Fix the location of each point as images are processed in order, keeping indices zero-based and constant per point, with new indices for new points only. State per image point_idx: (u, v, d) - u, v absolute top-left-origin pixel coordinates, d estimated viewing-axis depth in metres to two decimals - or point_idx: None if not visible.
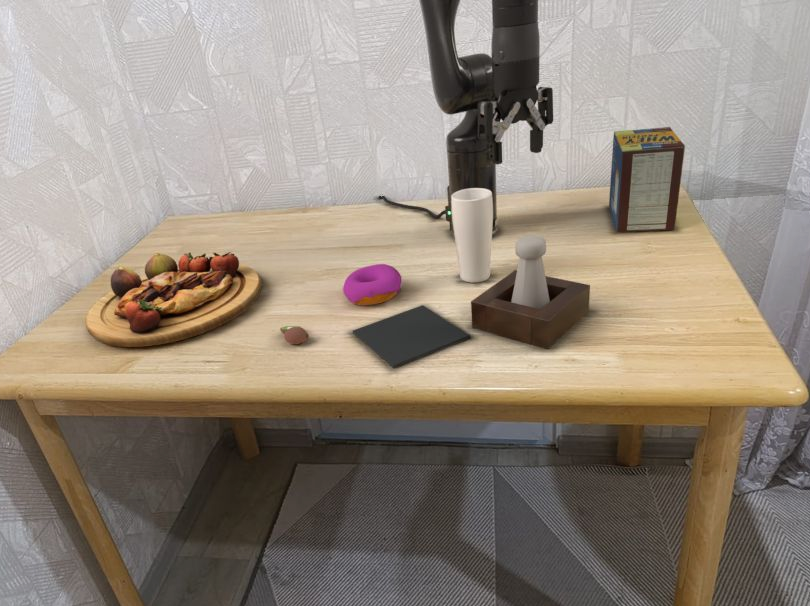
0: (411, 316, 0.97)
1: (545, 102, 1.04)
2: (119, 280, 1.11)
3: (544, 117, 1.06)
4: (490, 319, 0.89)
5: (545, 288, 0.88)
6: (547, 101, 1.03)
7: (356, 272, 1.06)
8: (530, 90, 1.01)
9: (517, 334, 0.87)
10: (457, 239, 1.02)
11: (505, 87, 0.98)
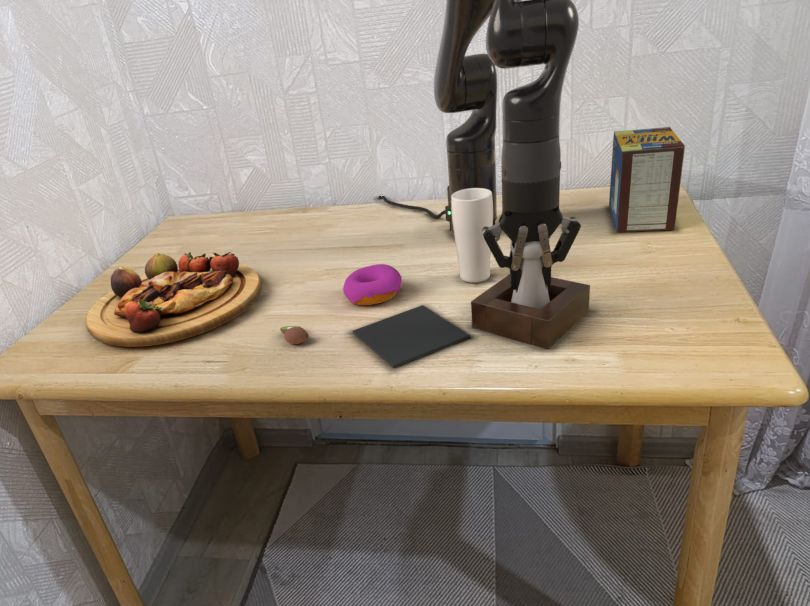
0: (411, 316, 0.97)
1: (566, 235, 0.84)
2: (119, 280, 1.11)
3: (558, 251, 0.86)
4: (490, 319, 0.89)
5: (545, 288, 0.88)
6: (567, 235, 0.84)
7: (356, 272, 1.06)
8: (548, 213, 0.82)
9: (517, 334, 0.87)
10: (457, 239, 1.02)
11: (507, 208, 0.82)
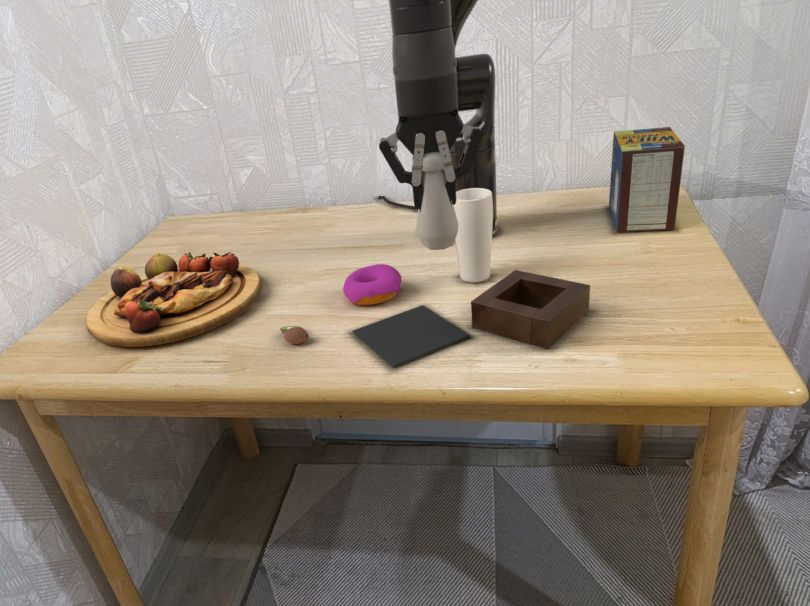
0: (411, 316, 0.97)
1: (468, 145, 0.78)
2: (119, 280, 1.11)
3: (461, 164, 0.80)
4: (490, 319, 0.89)
5: (449, 206, 0.81)
6: (469, 144, 0.77)
7: (356, 272, 1.06)
8: (446, 118, 0.76)
9: (517, 334, 0.87)
10: (457, 239, 1.02)
11: (400, 112, 0.75)
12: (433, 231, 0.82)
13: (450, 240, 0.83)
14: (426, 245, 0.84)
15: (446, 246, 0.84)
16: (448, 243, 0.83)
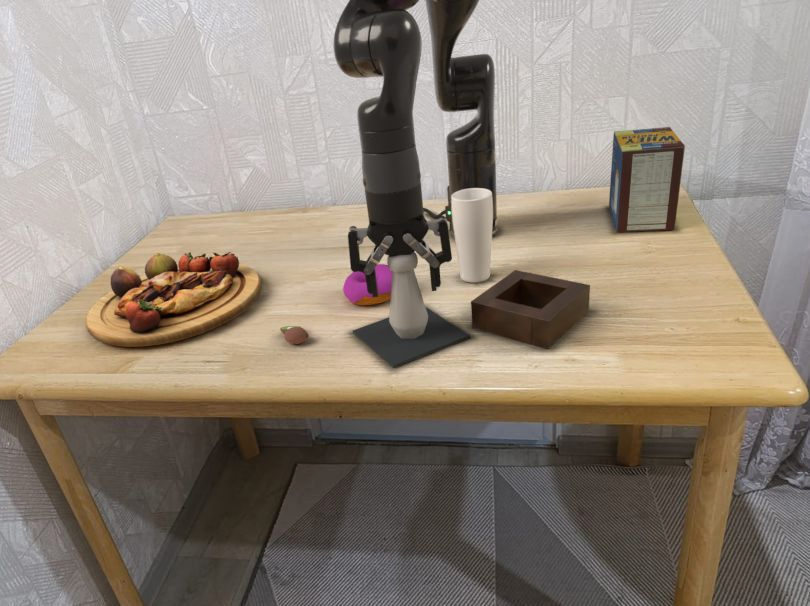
0: None
1: (440, 236, 0.84)
2: (119, 280, 1.11)
3: None
4: (490, 319, 0.89)
5: (419, 301, 0.88)
6: (440, 236, 0.83)
7: (356, 272, 1.06)
8: (412, 222, 0.83)
9: (517, 334, 0.87)
10: (457, 239, 1.02)
11: (370, 218, 0.82)
12: (403, 324, 0.89)
13: (420, 330, 0.90)
14: (398, 334, 0.91)
15: (416, 336, 0.91)
16: (418, 333, 0.91)
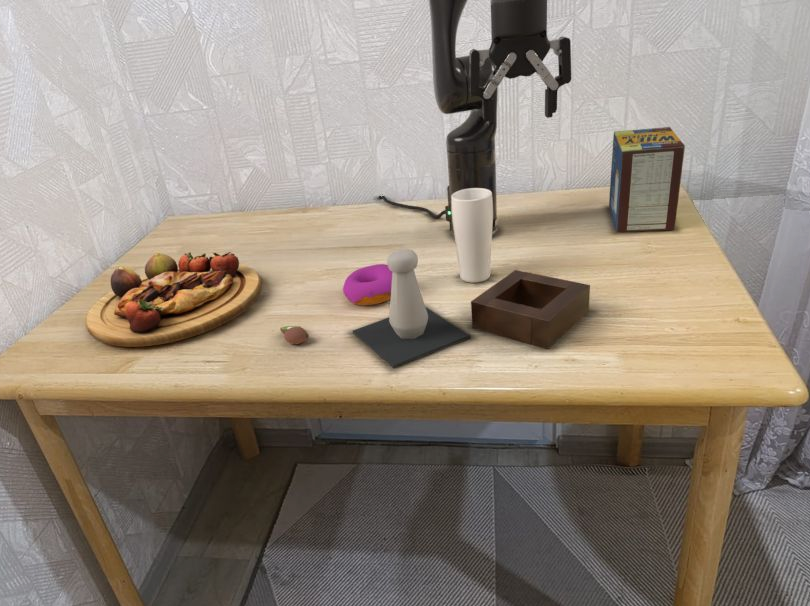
0: None
1: (561, 56, 0.86)
2: (119, 280, 1.11)
3: (562, 75, 0.88)
4: (490, 319, 0.89)
5: (419, 301, 0.88)
6: (562, 55, 0.85)
7: (356, 272, 1.06)
8: (536, 39, 0.85)
9: (517, 334, 0.87)
10: (457, 239, 1.02)
11: (496, 33, 0.84)
12: (403, 324, 0.89)
13: (420, 330, 0.90)
14: (398, 334, 0.91)
15: (416, 336, 0.91)
16: (418, 333, 0.91)
